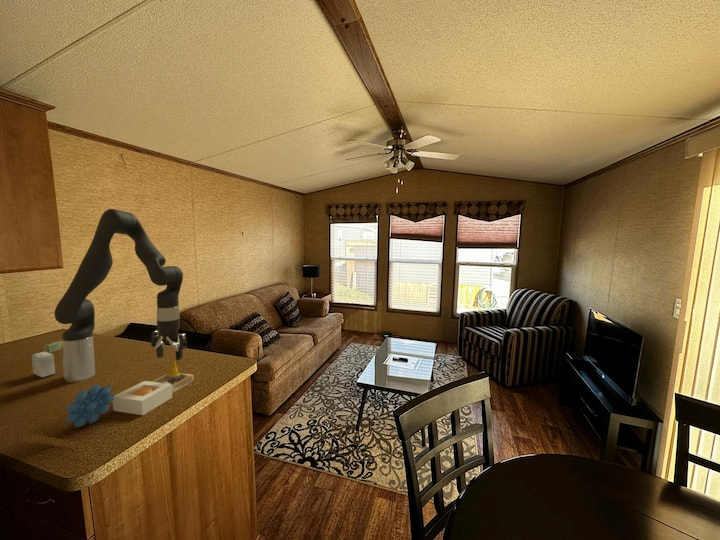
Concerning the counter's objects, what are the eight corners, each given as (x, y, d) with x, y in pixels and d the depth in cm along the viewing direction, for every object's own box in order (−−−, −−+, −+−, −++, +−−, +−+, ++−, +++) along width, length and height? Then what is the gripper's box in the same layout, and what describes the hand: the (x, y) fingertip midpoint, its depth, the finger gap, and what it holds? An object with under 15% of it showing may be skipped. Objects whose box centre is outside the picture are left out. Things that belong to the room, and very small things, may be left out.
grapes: (110, 410, 103) (108, 376, 102) (117, 417, 99) (115, 381, 98) (63, 427, 93) (60, 389, 92) (69, 435, 89) (66, 396, 88)
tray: (147, 391, 116) (147, 384, 116) (170, 378, 127) (170, 372, 126) (172, 394, 114) (171, 387, 113) (193, 381, 124) (193, 374, 124)
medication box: (47, 353, 153) (47, 346, 152) (43, 352, 153) (43, 345, 153) (74, 345, 164) (74, 338, 164) (69, 344, 165) (69, 337, 164)
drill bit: (160, 386, 118) (163, 359, 119) (171, 383, 123) (174, 357, 124) (171, 387, 117) (175, 360, 118) (182, 384, 122) (185, 358, 123)
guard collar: (113, 410, 103) (112, 396, 102) (145, 393, 114) (144, 380, 114) (142, 415, 100) (142, 400, 100) (172, 397, 112) (171, 384, 111)
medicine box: (55, 373, 130) (54, 354, 129) (41, 377, 126) (39, 357, 125) (46, 370, 133) (45, 351, 132) (32, 374, 129) (30, 354, 128)
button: (131, 405, 105) (130, 393, 105) (144, 398, 110) (143, 386, 110) (143, 407, 104) (142, 394, 104) (156, 399, 109) (155, 387, 109)
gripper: (191, 317, 120) (192, 356, 121) (161, 314, 122) (162, 353, 124) (176, 321, 112) (177, 364, 114) (144, 318, 115) (145, 360, 117)
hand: (169, 358), depth 119 cm, fingers open, 8 cm apart
